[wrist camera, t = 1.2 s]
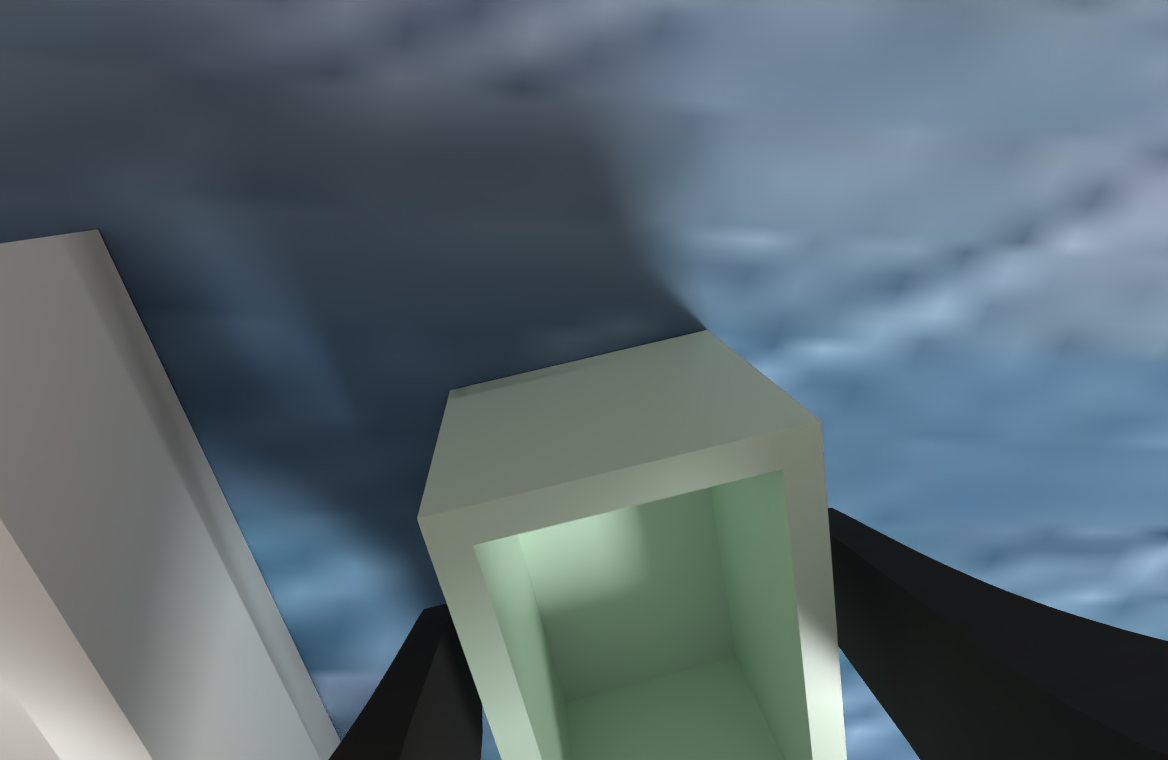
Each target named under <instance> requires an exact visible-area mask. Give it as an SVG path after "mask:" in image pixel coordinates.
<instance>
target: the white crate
mask: <svg viewBox="0 0 1168 760" xmlns="http://www.w3.org/2000/svg"><path fill="white" fill-rule="evenodd" d="M340 743H341V741H340V739H339V737H338V735H337V732H336V730H335V728H334V726H333V724H332V722H331V720H330V718H329V716H328V713H327V711H326V709H325V707H324V705H323V703H322V701H321V699H320V697H319V695H318V692H317V690H316V688H315V686H314V684H313V682H312V680H311V678H310V676H309V673H308V671H307V669H306V667H305V665H304V663H303V661H302V659H301V657H300V655H299V652H298V650H297V648H296V646H295V644H294V642H293V640H292V638H291V636H290V633H289V631H288V629H287V627H286V625H285V623H284V621H283V619H282V617H281V614H280V612H279V610H278V608H277V606H276V604H275V602H274V600H273V598H272V596H271V593H270V591H269V589H268V587H267V585H266V583H265V581H264V579H263V577H262V574H261V572H260V570H259V568H258V566H257V564H256V562H255V560H254V558H253V555H252V553H251V551H250V549H249V547H248V545H247V543H246V541H245V539H244V537H243V534H242V532H241V530H240V528H239V526H238V524H237V522H236V520H235V518H234V515H233V513H232V511H231V509H230V507H229V505H228V503H227V501H226V499H225V496H224V494H223V492H222V490H221V488H220V486H219V484H218V482H217V480H216V478H215V475H214V473H213V471H212V469H211V467H210V465H209V463H208V461H207V459H206V456H205V454H204V452H203V450H202V448H201V446H200V444H199V442H198V440H197V438H196V435H195V433H194V431H193V429H192V427H191V425H190V423H189V421H188V419H187V416H186V414H185V412H184V410H183V408H182V406H181V404H180V402H179V400H178V397H177V395H176V393H175V391H174V389H173V387H172V385H171V383H170V381H169V379H168V376H167V374H166V372H165V370H164V368H163V366H162V364H161V362H160V360H159V357H158V355H157V353H156V351H155V349H154V347H153V345H152V343H151V341H150V338H149V336H148V334H147V332H146V330H145V328H144V326H143V324H142V322H141V320H140V317H139V315H138V313H137V311H136V309H135V307H134V305H133V303H132V301H131V298H130V296H129V294H128V292H127V290H126V288H125V286H124V284H123V282H122V279H121V277H120V275H119V273H118V271H117V269H116V267H115V265H114V263H113V261H112V258H111V256H110V254H109V252H108V250H107V248H106V246H105V244H104V242H103V239H102V237H101V235H100V233H99V231H98V229H96V230H90V231H83V232H76V233H69V234H62V235H55V236H48V237H41V238H35V239H28V240H21V241H14V242H7V243H0V760H328V759H329V758H330V756H331V755H332V754H333V752H334V751H335V750H336V748H337V747H338V745H339V744H340Z"/></svg>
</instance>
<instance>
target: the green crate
mask: <svg viewBox="0 0 1168 760" xmlns="http://www.w3.org/2000/svg"><path fill="white" fill-rule="evenodd" d="M417 520H418V523H419V526H420V529H421V532H422V535H423V538H424V540H425V543H426V546H427V549H428V552H429V555H430V557H431V560H432V563H433V566H434V569H435V572H436V574H437V577H438V580H439V583H440V586H441V589H442V591H443V594H444V597H445V600H446V603H447V606H448V608H449V611H450V614H451V617H452V620H453V623H454V626H455V628H456V631H457V634H458V637H459V640H460V643H461V645H462V648H463V651H464V654H465V657H466V660H467V662H468V665H469V668H470V671H471V674H472V677H473V679H474V682H475V685H476V688H477V691H478V694H479V696H480V699H481V702H482V705H483V708H484V711H485V713H486V716H487V719H488V722H489V725H490V728H491V731H492V733H493V736H494V739H495V742H496V745H497V748H498V750H499V753H500V756H501V759H502V760H847V757H846V744H845V731H844V717H843V704H842V691H841V678H840V664H839V651H838V638H837V625H836V611H835V598H834V585H833V572H832V558H831V545H830V532H829V518H828V505H827V492H826V479H825V465H824V452H823V439H822V426H821V420H820V419H819V418H817V417H816V416H815V415H814V414H812V413H811V412H810V411H809V410H807V409H806V408H805V407H804V406H802V405H801V404H800V403H799V402H797V401H796V400H795V399H794V398H792V397H791V396H790V395H789V394H787V393H786V392H785V391H784V390H782V389H781V388H780V387H779V386H777V385H776V384H775V383H774V382H772V381H771V380H770V379H769V378H767V377H766V376H765V375H763V374H762V373H761V372H760V371H758V370H757V369H756V368H755V367H753V366H752V365H751V364H750V363H748V362H747V361H746V360H745V359H743V358H742V357H741V356H740V355H738V354H737V353H736V352H735V351H733V350H732V349H731V348H730V347H728V346H727V345H726V344H725V343H723V342H722V341H721V340H720V339H718V338H717V337H716V336H715V335H713V334H712V333H711V332H710V331H708V330H705V331H700V332H696V333H692V334H688V335H683V336H679V337H675V338H671V339H666V340H662V341H658V342H654V343H649V344H645V345H641V346H637V347H632V348H628V349H624V350H619V351H615V352H611V353H607V354H602V355H598V356H594V357H590V358H585V359H581V360H577V361H573V362H568V363H564V364H560V365H556V366H551V367H547V368H543V369H539V370H534V371H530V372H526V373H522V374H517V375H513V376H509V377H504V378H500V379H496V380H492V381H487V382H483V383H479V384H475V385H470V386H466V387H462V388H458V389H453V390H450V392H449V396H448V400H447V404H446V408H445V412H444V416H443V420H442V424H441V427H440V431H439V435H438V439H437V443H436V447H435V451H434V455H433V459H432V462H431V466H430V470H429V474H428V478H427V482H426V486H425V490H424V494H423V497H422V501H421V505H420V509H419V513H418V517H417Z"/></svg>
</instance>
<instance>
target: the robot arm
mask: <svg viewBox="0 0 1168 760" xmlns="http://www.w3.org/2000/svg"><path fill="white" fill-rule="evenodd" d="M828 518H829V532H830V545H831V558H832V572H833V585H834V598H835V611H836V625H837V638H838V646H839V647H840V649H841V650H842V651H843V653H844V654H845V656H846V657H847V658H848V660H849V661H850V663H851V664H852V665H853V667H854V668H855V670H856V671H857V672H858V674H859V675H860V676H861V678H862V679H863V681H864V682H865V683H866V685H867V686H868V687H869V689H870V690H871V692H872V693H873V694H874V696H875V697H876V698H877V700H878V701H879V702H880V704H881V705H882V707H883V708H884V709H885V711H886V712H887V713H888V715H889V716H890V718H891V719H892V720H893V722H894V723H895V724H896V726H897V727H898V729H899V730H900V731H901V733H902V734H903V735H904V737H905V738H906V739H907V741H908V742H909V744H910V745H911V747H912V748H913V750H914V751H915V753H916V754H917V756H918V757H919V759H920V760H1168V641H1165V640H1161V639H1157V638H1153V637H1149V636H1145V635H1142V634H1138V633H1134V632H1130V631H1127V630H1123V629H1120V628H1116V627H1113V626H1109V625H1106V624H1103V623H1099V622H1096V621H1093V620H1089V619H1086V618H1083V617H1079V616H1076V615H1073V614H1070V613H1067V612H1064V611H1061V610H1058V609H1055V608H1052V607H1049V606H1046V605H1043V604H1041V603H1038V602H1035V601H1032V600H1030V599H1027V598H1024V597H1021V596H1019V595H1016V594H1013V593H1010V592H1008V591H1005V590H1003V589H1000V588H998V587H995V586H993V585H990V584H988V583H985V582H983V581H981V580H978V579H976V578H974V577H971V576H969V575H967V574H965V573H962V572H960V571H958V570H955V569H953V568H951V567H949V566H947V565H944V564H942V563H940V562H938V561H936V560H934V559H932V558H929V557H927V556H925V555H923V554H921V553H919V552H917V551H915V550H913V549H911V548H909V547H907V546H905V545H903V544H901V543H899V542H897V541H895V540H893V539H891V538H889V537H887V536H886V535H884V534H882V533H880V532H878V531H876V530H874V529H872V528H870V527H868V526H866V525H864V524H863V523H861V522H859V521H857V520H855V519H853V518H851V517H849V516H847V515H845V514H843V513H841V512H839V511H837V510H835V509H833V508H828ZM482 733H483V728H482V702H481V699H480V696H479V694H478V691H477V688H476V685H475V682H474V679H473V677H472V674H471V671H470V668H469V665H468V662H467V660H466V657H465V654H464V651H463V648H462V645H461V643H460V640H459V637H458V634H457V631H456V628H455V626H454V623H453V620H452V617H451V614H450V611H449V608H448V606H447V604H443V605H439V606H435V607H431V608H427V609H424V610H423V611H422V613H421V614H420V616H419V618H418V619H417V621H416V623H415V624H414V626H413V628H412V629H411V631H410V633H409V635H408V636H407V638H406V640H405V642H404V643H403V645H402V647H401V648H400V650H399V652H398V654H397V655H396V657H395V659H394V660H393V662H392V664H391V665H390V667H389V669H388V670H387V672H386V674H385V675H384V677H383V678H382V680H381V682H380V683H379V685H378V687H377V688H376V690H375V691H374V693H373V695H372V696H371V698H370V699H369V701H368V703H367V704H366V706H365V707H364V709H363V710H362V712H361V713H360V715H359V716H358V718H357V719H356V720H355V722H354V723H353V725H352V726H351V728H350V729H349V731H348V732H347V734H346V735H345V737H344V738H343V740H342V741H341V743H340V744H339V745H338V747H337V748H336V750H335V751H334V752H333V754H332V755H331V756H330V758H329V759H328V760H480V758H481V746H482Z"/></svg>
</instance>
